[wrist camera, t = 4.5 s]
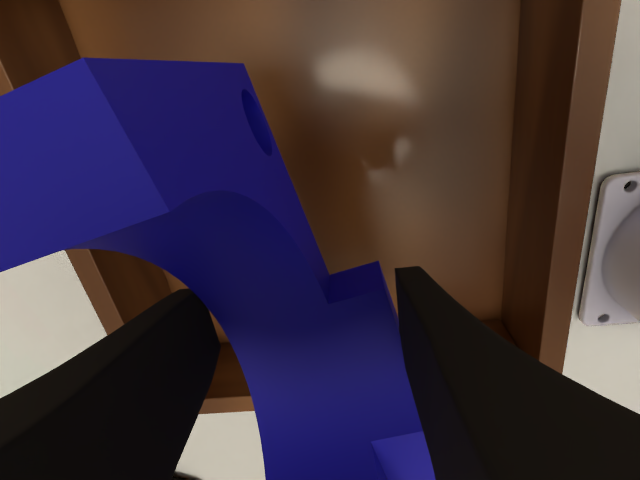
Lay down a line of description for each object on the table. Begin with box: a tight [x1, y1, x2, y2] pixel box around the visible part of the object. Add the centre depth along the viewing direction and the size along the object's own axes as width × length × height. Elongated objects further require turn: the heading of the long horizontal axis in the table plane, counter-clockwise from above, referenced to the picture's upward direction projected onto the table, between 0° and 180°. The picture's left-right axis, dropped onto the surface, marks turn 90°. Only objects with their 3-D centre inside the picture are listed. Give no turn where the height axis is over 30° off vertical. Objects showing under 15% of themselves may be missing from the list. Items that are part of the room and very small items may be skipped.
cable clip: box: [0, 58, 436, 480], centre depth 8 cm, size 12×4×6 cm, turn 20°
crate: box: [0, 0, 621, 414], centre depth 15 cm, size 19×19×5 cm
